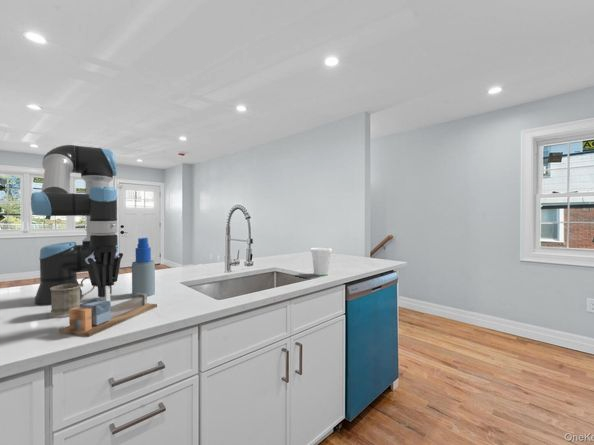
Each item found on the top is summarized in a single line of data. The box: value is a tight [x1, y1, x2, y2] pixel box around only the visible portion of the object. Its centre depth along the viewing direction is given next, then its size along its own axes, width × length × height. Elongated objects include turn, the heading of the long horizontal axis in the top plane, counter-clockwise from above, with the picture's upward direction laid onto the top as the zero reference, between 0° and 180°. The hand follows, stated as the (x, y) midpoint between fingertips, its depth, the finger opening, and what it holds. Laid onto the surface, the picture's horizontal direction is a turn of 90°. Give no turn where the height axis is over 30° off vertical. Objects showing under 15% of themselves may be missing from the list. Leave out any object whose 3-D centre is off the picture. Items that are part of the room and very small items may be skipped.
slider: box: [80, 299, 111, 325], centre depth 93 cm, size 6×5×6 cm
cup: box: [310, 247, 333, 277], centre depth 172 cm, size 12×12×15 cm
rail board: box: [59, 293, 158, 337], centre depth 99 cm, size 11×28×7 cm, turn 166°
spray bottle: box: [131, 237, 156, 298], centre depth 128 cm, size 9×9×25 cm
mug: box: [47, 275, 96, 319], centre depth 106 cm, size 14×10×12 cm
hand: (105, 305), depth 96 cm, fingers closed
